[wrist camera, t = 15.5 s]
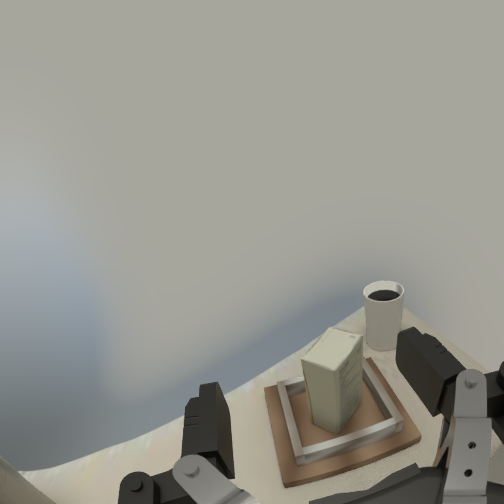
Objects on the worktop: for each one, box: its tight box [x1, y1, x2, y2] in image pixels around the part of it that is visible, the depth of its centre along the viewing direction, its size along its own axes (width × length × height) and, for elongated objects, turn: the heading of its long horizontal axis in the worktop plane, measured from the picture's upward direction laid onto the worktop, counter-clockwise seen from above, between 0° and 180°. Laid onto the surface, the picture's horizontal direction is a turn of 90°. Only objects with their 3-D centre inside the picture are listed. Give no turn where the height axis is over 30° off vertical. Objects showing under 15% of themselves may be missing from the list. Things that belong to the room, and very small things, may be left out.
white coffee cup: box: [364, 281, 404, 351], centre depth 45 cm, size 7×7×10 cm
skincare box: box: [301, 327, 363, 434], centre depth 32 cm, size 6×4×12 cm
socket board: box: [264, 357, 422, 488], centre depth 34 cm, size 17×17×4 cm
